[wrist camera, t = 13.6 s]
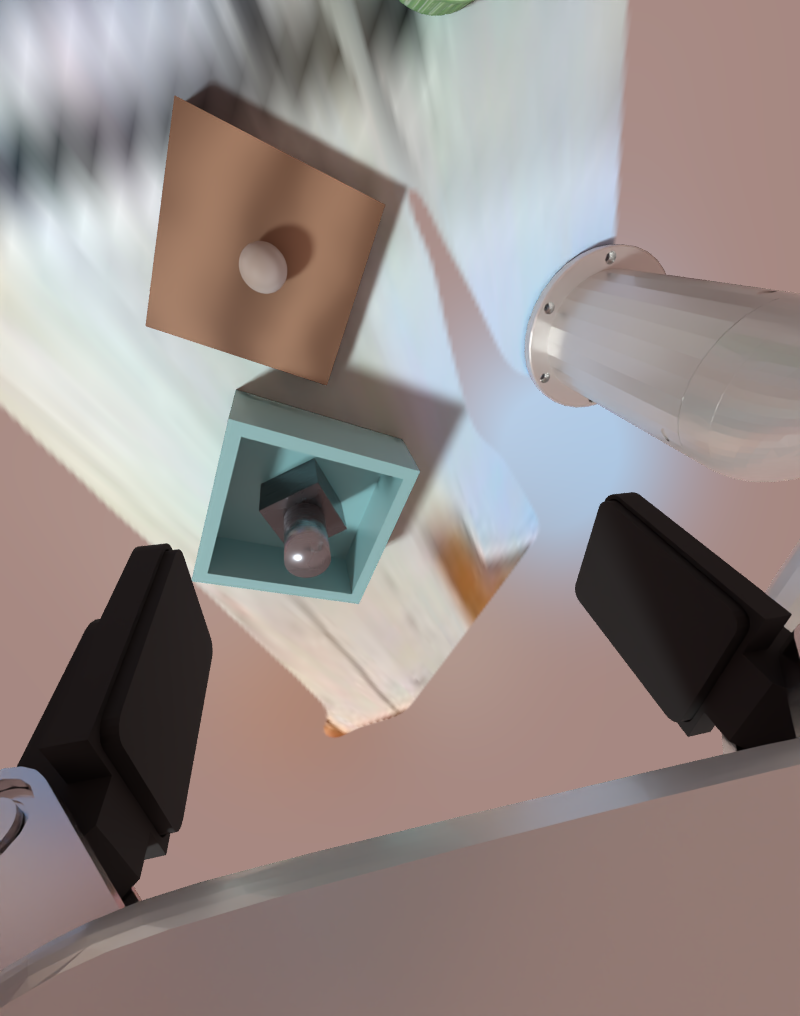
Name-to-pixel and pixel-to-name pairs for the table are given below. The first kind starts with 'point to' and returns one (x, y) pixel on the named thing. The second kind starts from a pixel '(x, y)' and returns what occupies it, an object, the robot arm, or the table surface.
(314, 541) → the square base knob
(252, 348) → the stud plate
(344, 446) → the bin
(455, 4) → the ramekin
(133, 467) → the table surface
